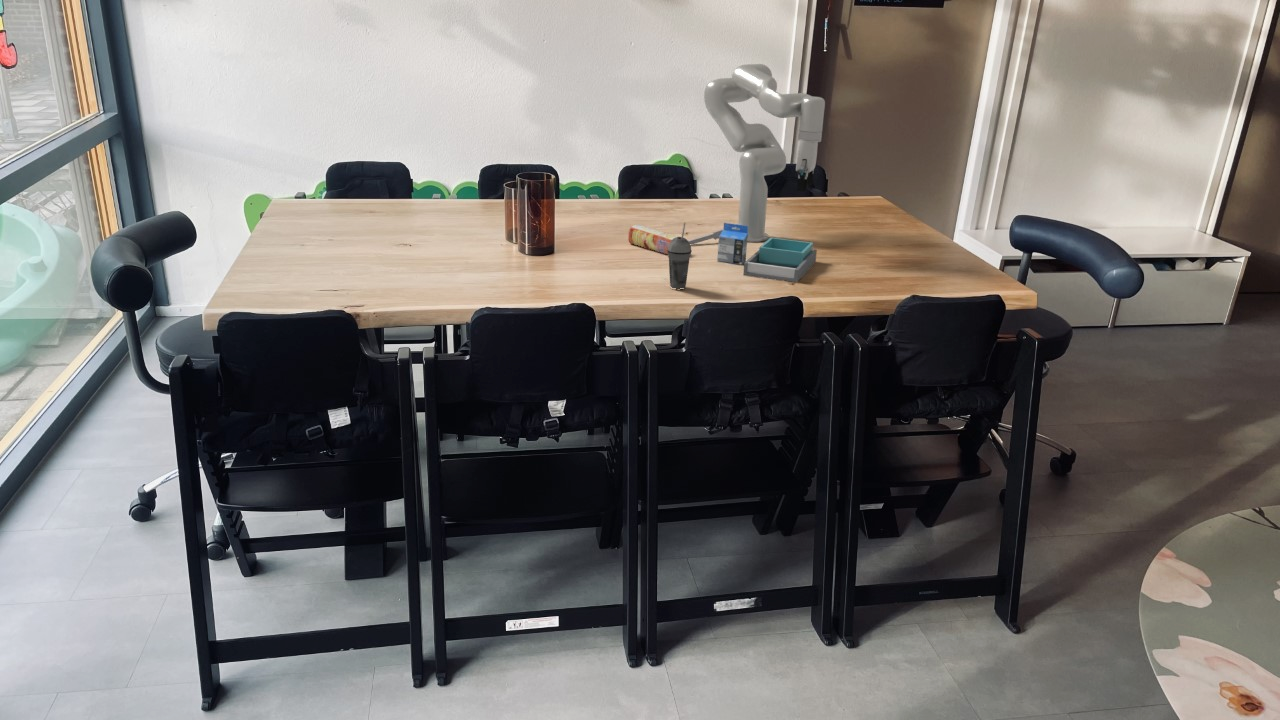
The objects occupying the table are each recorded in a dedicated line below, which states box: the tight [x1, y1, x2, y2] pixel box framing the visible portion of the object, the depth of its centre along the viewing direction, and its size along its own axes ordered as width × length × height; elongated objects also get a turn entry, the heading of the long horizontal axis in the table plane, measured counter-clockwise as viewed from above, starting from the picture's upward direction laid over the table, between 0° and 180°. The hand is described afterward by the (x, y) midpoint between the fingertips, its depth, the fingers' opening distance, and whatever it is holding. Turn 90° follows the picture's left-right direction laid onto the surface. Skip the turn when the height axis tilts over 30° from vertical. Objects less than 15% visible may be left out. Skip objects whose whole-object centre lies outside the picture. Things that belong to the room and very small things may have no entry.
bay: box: [742, 249, 818, 283], centre depth 321 cm, size 17×26×4 cm, turn 158°
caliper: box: [687, 228, 724, 245], centre depth 347 cm, size 20×1×6 cm, turn 116°
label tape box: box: [716, 222, 748, 266], centre depth 325 cm, size 9×4×12 cm, turn 62°
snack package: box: [627, 224, 678, 255], centre depth 338 cm, size 21×7×7 cm, turn 44°
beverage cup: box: [667, 222, 692, 289], centre depth 295 cm, size 7×7×20 cm
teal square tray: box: [758, 237, 814, 267], centre depth 325 cm, size 14×14×5 cm
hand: (804, 188), depth 331 cm, fingers open, 9 cm apart
